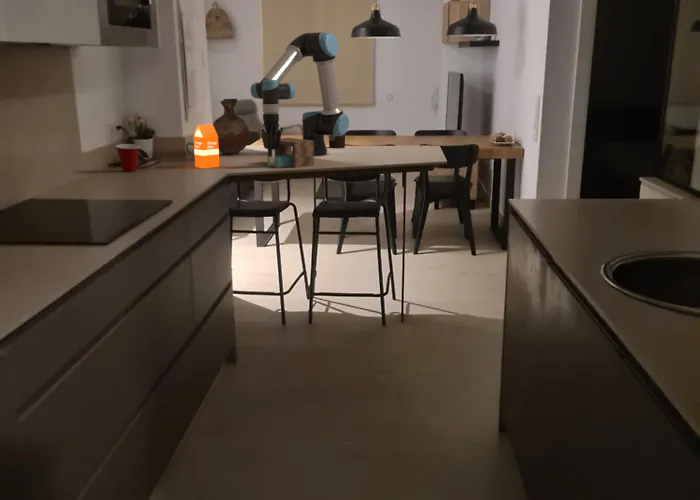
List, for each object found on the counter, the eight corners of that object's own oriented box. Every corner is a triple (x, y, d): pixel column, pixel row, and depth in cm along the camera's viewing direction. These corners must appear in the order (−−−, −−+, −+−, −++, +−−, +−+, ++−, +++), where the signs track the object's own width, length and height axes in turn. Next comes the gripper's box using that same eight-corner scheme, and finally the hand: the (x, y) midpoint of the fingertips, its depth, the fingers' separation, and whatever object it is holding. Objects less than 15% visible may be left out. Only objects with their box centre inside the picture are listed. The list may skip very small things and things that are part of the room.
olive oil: (339, 146, 416) (339, 104, 409) (349, 147, 408) (349, 104, 401) (324, 147, 410) (324, 104, 403) (334, 148, 402) (334, 105, 395)
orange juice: (195, 166, 330) (192, 124, 325) (210, 164, 337) (207, 123, 331) (204, 168, 325) (202, 125, 320) (219, 166, 331) (217, 124, 326)
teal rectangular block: (279, 167, 327) (279, 157, 326) (267, 165, 333) (267, 155, 332) (298, 165, 335) (298, 155, 334) (287, 163, 341) (286, 153, 340)
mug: (210, 158, 361) (209, 139, 358) (217, 160, 352) (216, 140, 350) (183, 160, 353) (182, 140, 351) (189, 162, 345) (188, 142, 343)
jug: (241, 150, 392) (239, 97, 384) (257, 155, 374) (255, 98, 366) (205, 153, 381) (202, 98, 373) (219, 157, 363) (216, 99, 355)
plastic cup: (128, 173, 309) (125, 147, 306) (112, 171, 315) (110, 145, 312) (147, 170, 318) (145, 144, 315) (131, 168, 324) (129, 143, 320)
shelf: (289, 161, 349) (288, 137, 345) (314, 165, 335) (313, 140, 332) (270, 163, 340) (269, 139, 337) (295, 167, 327) (294, 142, 324)
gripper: (276, 112, 330) (277, 161, 336) (254, 113, 321) (256, 163, 327) (286, 112, 325) (287, 162, 331) (264, 114, 316) (266, 165, 322)
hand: (272, 162), depth 329 cm, fingers closed
